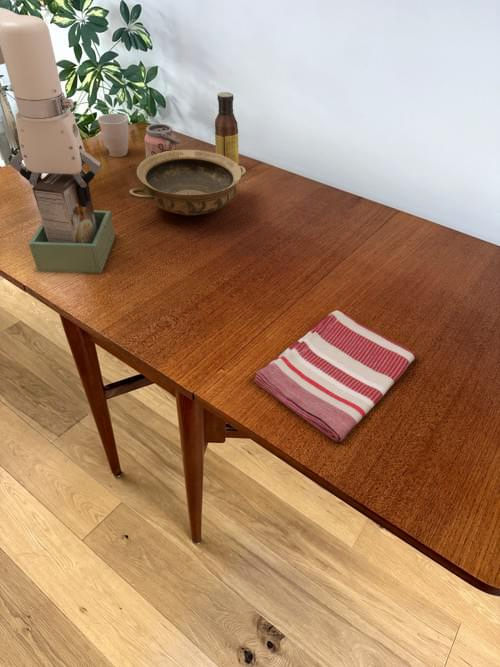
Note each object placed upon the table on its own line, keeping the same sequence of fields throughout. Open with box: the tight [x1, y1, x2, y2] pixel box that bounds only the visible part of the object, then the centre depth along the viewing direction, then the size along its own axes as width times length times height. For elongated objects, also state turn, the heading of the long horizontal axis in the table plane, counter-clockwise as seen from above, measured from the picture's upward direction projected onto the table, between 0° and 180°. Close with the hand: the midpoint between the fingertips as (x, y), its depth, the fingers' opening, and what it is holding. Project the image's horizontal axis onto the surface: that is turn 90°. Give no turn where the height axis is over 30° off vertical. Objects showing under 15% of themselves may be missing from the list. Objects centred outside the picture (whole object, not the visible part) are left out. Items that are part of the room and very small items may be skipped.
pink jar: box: [143, 123, 181, 159], centre depth 124 cm, size 9×8×12 cm
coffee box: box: [31, 174, 98, 244], centre depth 92 cm, size 9×6×16 cm
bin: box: [28, 209, 116, 274], centre depth 95 cm, size 13×14×7 cm
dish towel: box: [253, 309, 417, 443], centre depth 75 cm, size 17×23×3 cm
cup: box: [97, 113, 130, 158], centre depth 132 cm, size 8×8×10 cm
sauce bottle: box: [214, 91, 240, 165], centre depth 124 cm, size 6×6×20 cm
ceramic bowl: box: [128, 149, 247, 217], centre depth 110 cm, size 30×24×10 cm
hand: (65, 202), depth 89 cm, fingers closed on coffee box, 7 cm apart
